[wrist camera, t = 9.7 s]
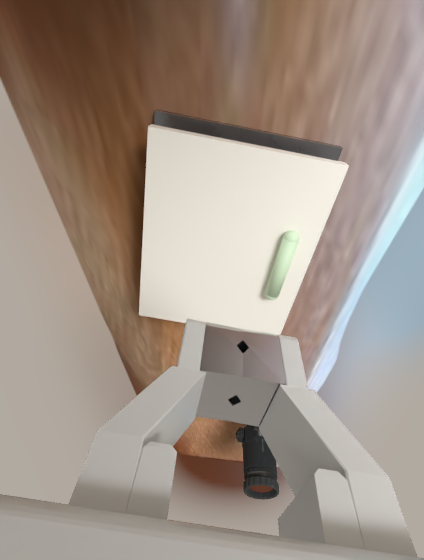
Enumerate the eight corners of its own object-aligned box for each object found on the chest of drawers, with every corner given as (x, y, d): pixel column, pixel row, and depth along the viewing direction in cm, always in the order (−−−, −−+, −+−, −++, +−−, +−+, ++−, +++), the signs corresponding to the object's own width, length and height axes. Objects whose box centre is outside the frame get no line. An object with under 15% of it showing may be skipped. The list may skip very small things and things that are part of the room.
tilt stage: (151, 124, 29) (143, 129, 26) (345, 162, 29) (354, 171, 27) (141, 308, 41) (135, 323, 39) (277, 332, 42) (279, 348, 39)
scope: (299, 478, 46) (281, 505, 52) (287, 394, 57) (273, 424, 63) (243, 471, 46) (231, 498, 51) (242, 388, 57) (233, 418, 63)
